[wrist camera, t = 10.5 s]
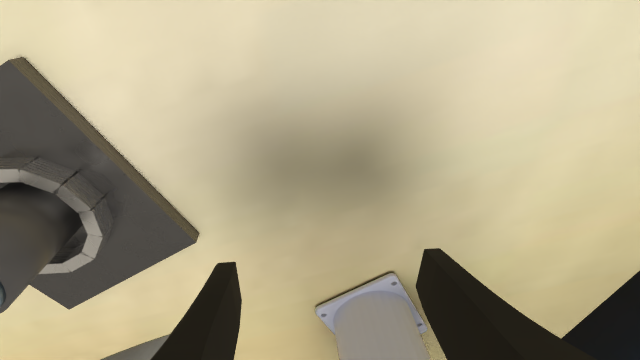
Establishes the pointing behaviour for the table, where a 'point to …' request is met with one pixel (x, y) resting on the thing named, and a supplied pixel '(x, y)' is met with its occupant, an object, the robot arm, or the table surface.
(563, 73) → the table surface
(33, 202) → the blue-grey cylinder
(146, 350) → the external hard drive
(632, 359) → the book
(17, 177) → the metal base plate
